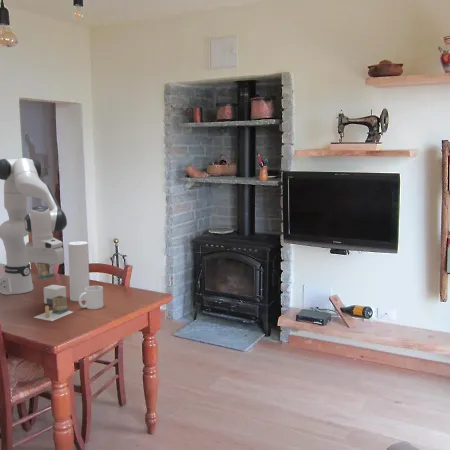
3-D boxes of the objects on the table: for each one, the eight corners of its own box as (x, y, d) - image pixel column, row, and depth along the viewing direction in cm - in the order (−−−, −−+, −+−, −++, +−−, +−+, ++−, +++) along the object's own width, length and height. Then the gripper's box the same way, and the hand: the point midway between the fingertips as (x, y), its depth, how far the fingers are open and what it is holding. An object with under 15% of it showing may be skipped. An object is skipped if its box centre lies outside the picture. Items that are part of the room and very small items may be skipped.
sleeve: (38, 278, 233) (36, 263, 232) (45, 276, 237) (44, 261, 236) (46, 279, 231) (45, 264, 230) (54, 276, 236) (52, 261, 234)
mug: (82, 314, 240) (81, 292, 238) (75, 309, 246) (74, 288, 245) (106, 309, 248) (105, 288, 246) (98, 305, 254) (98, 284, 252)
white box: (43, 305, 252) (42, 287, 250) (53, 302, 258) (53, 284, 256) (56, 308, 248) (55, 290, 247) (66, 304, 255) (65, 286, 253)
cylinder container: (84, 304, 255) (82, 244, 251) (66, 302, 257) (64, 243, 253) (92, 298, 264) (91, 240, 260) (76, 297, 266) (74, 239, 262)
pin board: (33, 319, 232) (32, 306, 231) (55, 310, 244) (55, 298, 243) (52, 323, 227) (51, 310, 226) (73, 314, 240) (73, 301, 239)
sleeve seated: (52, 312, 238) (51, 298, 237) (59, 309, 242) (59, 295, 241) (60, 314, 236) (59, 299, 235) (67, 311, 240) (67, 296, 239)
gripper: (20, 242, 233) (23, 272, 235) (55, 244, 225) (58, 275, 227) (30, 240, 239) (33, 269, 241) (65, 242, 231) (68, 272, 233)
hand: (45, 272), depth 234 cm, fingers closed on sleeve, 4 cm apart
